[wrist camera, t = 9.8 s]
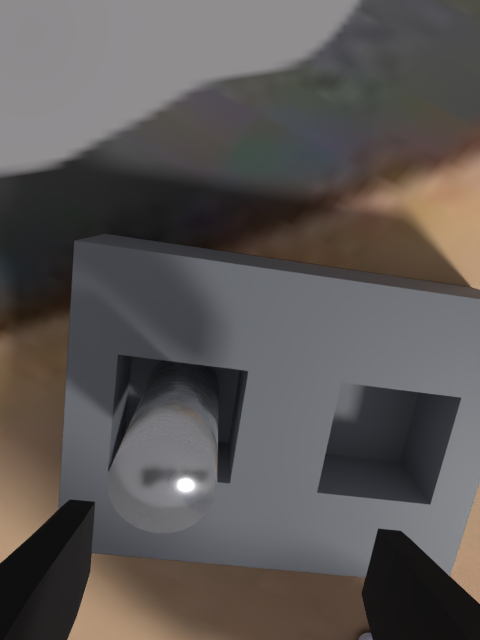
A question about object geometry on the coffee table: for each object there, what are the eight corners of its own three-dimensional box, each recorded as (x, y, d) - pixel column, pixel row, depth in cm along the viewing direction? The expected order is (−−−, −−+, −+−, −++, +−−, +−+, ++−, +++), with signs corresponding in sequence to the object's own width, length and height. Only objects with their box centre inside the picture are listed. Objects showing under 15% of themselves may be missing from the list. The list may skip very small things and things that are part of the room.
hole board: (407, 519, 22) (447, 584, 18) (86, 486, 21) (56, 550, 17) (472, 287, 19) (535, 307, 16) (105, 233, 18) (74, 240, 14)
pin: (214, 423, 19) (209, 537, 13) (145, 415, 19) (103, 527, 12) (223, 359, 19) (224, 443, 12) (152, 350, 18) (111, 431, 12)
